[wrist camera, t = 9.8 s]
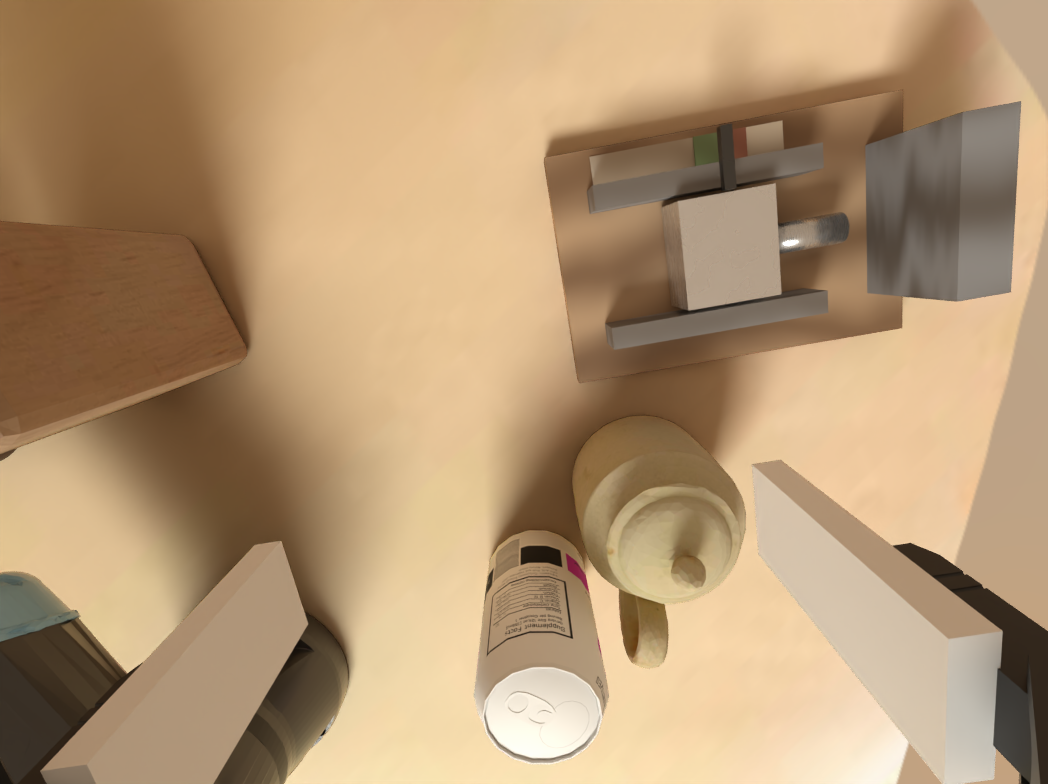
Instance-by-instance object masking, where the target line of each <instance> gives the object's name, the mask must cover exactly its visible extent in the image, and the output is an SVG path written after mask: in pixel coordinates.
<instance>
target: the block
mask: <svg viewBox="0 0 1048 784" xmlns="http://www.w3.org/2000/svg"><path fill="white" fill-rule="evenodd" d="M246 356H247V349H246V345H245V343H244V341H243V340H242V338H241V336H240V334H239V332H238V330H237V328H236V326H235V324H234V322H233V320H232V318H231V316H230V314H229V312H228V311H227V309H226V307H225V305H224V303H223V301H222V299H221V297H220V295H219V293H218V291H217V289H216V287H215V285H214V284H213V282H212V280H211V278H210V276H209V274H208V272H207V270H206V268H205V266H204V264H203V262H202V260H201V258H200V256H199V255H198V253H197V251H196V249H195V247H194V245H193V244H192V243H191V242H190V241H189V240H188V239H187V238H186V237H185V236H183V235H173V234H160V233H147V232H134V231H121V230H108V229H95V228H82V227H69V226H56V225H43V224H30V223H17V222H4V221H0V454H2V453H4V452H7V451H10V450H13V449H15V448H18V447H21V446H24V445H26V444H29V443H32V442H34V441H37V440H40V439H43V438H45V437H48V436H51V435H53V434H56V433H59V432H62V431H64V430H67V429H70V428H72V427H75V426H78V425H81V424H83V423H86V422H89V421H91V420H94V419H97V418H100V417H102V416H105V415H108V414H110V413H113V412H116V411H119V410H121V409H124V408H127V407H129V406H132V405H135V404H138V403H140V402H143V401H146V400H148V399H151V398H153V397H156V396H159V395H161V394H164V393H166V392H169V391H171V390H174V389H176V388H179V387H181V386H184V385H186V384H189V383H191V382H194V381H197V380H199V379H202V378H204V377H207V376H209V375H212V374H214V373H217V372H219V371H222V370H224V369H227V368H229V367H232V366H235V365H237V364H239V363H240V362H241V361H242V360H243V359H244V358H245V357H246Z"/></svg>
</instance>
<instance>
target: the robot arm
mask: <svg viewBox="0 0 1048 784" xmlns="http://www.w3.org/2000/svg"><path fill="white" fill-rule="evenodd" d="M752 472H753V486H754V499H755V513H756V527H757V541H758V554H759V556H760V557H761V558H762V559H763V561H764V562H765V563H766V564H767V566H768V567H769V568H770V569H771V571H772V572H773V573H774V574H775V576H776V577H777V578H778V579H779V581H780V582H781V583H782V584H783V586H784V587H785V588H786V589H787V591H788V592H789V593H790V594H791V596H792V597H793V598H794V599H795V601H796V602H797V603H798V604H799V606H800V607H801V608H802V609H803V611H804V612H805V613H806V614H807V616H808V617H809V618H810V619H811V621H812V622H813V623H814V624H815V626H816V627H817V628H818V629H819V631H820V632H821V633H822V634H823V636H824V637H825V638H826V639H827V641H828V642H829V643H830V644H831V645H832V647H833V648H834V649H835V650H836V652H837V653H838V654H839V655H840V657H841V658H842V659H843V660H844V662H845V663H846V664H847V665H848V667H849V668H850V669H851V670H852V672H853V673H854V674H855V675H856V677H857V678H858V679H859V680H860V682H861V683H862V684H863V685H864V687H865V688H866V689H867V690H868V692H869V693H870V694H871V695H872V697H873V698H874V699H875V700H876V702H877V703H878V704H879V705H880V707H881V708H882V709H883V710H884V712H885V713H886V714H887V715H888V717H889V718H890V719H891V720H892V722H893V723H894V724H895V725H896V727H897V728H898V729H899V730H900V732H901V733H902V734H903V735H904V737H905V738H906V739H907V740H908V742H909V743H910V744H911V745H912V747H913V748H914V749H915V750H916V751H917V753H918V754H919V755H920V756H921V758H922V759H923V760H924V761H925V762H926V764H927V765H928V766H929V768H930V769H931V770H932V771H933V773H934V774H935V775H936V776H937V778H938V779H939V780H940V781H941V783H942V784H963V783H971V782H978V781H986V780H992V779H994V770H995V769H994V768H995V753H996V749H997V750H998V751H999V752H1000V753H1001V754H1002V755H1003V756H1004V757H1005V758H1006V759H1007V760H1008V761H1009V762H1010V763H1011V764H1012V765H1013V766H1014V767H1015V768H1016V770H1017V771H1018V772H1019V773H1020V774H1019V784H1048V631H1047V630H1045V629H1044V628H1042V627H1041V626H1040V625H1038V624H1037V623H1035V622H1034V621H1032V620H1031V619H1030V618H1028V617H1027V616H1025V615H1024V614H1023V613H1021V612H1020V611H1018V610H1017V609H1016V608H1014V607H1013V606H1011V605H1010V604H1008V603H1007V602H1005V601H1004V600H1003V599H1001V598H1000V597H998V596H997V595H996V594H994V593H993V592H991V591H990V590H988V589H987V588H986V589H984V588H983V587H982V585H981V584H980V583H979V582H977V581H975V580H974V579H973V578H972V577H970V576H969V575H964V574H963V571H962V570H960V569H959V568H957V567H956V566H955V565H953V564H952V563H950V562H949V561H948V560H946V559H945V558H943V557H942V556H940V555H938V554H936V553H933V552H931V551H929V550H926V549H924V548H921V547H919V546H916V545H914V544H912V543H908V544H901V545H894V546H892V545H890V544H889V543H888V542H886V541H885V540H884V539H883V538H881V537H880V536H879V535H877V534H876V533H875V532H874V531H872V530H871V529H870V528H868V527H867V526H866V525H864V524H863V523H862V522H861V521H859V520H858V519H857V518H855V517H854V516H853V515H851V514H850V513H849V512H848V511H846V510H845V509H844V508H842V507H841V506H840V505H839V504H837V503H836V502H835V501H833V500H832V499H831V498H829V497H828V496H827V495H826V494H824V493H823V492H822V491H820V490H819V489H818V488H817V487H815V486H814V485H813V484H811V483H810V482H809V481H807V480H806V479H805V478H804V477H802V476H801V475H800V474H798V473H797V472H796V471H794V470H793V469H792V468H791V467H789V466H788V465H787V464H785V463H784V462H783V461H782V460H776V461H770V462H764V463H757V464H752ZM79 617H80V614H79V613H78V612H77V611H76V610H70V609H69V608H68V607H67V606H66V605H65V604H64V603H63V602H62V601H61V600H60V599H59V598H58V597H57V596H56V595H55V594H54V593H53V592H51V591H50V590H49V589H48V588H47V587H46V586H45V585H44V584H43V583H42V582H41V581H40V580H39V579H38V578H36V577H35V576H33V575H30V574H28V573H24V572H15V571H12V572H2V573H0V784H284V783H285V781H286V779H287V778H288V776H289V775H290V774H291V773H292V772H293V771H294V769H295V768H296V767H297V766H298V765H299V763H300V762H301V761H302V759H303V758H304V756H305V755H306V754H307V752H308V751H309V750H310V748H312V747H313V746H314V745H315V744H317V743H318V742H319V741H320V740H321V739H322V738H323V736H324V735H325V734H326V733H327V732H328V730H329V729H330V728H331V726H332V724H333V723H334V721H335V719H336V717H337V715H338V712H339V710H340V708H341V705H342V703H343V700H344V698H345V695H346V692H347V687H348V668H347V663H346V659H345V656H344V654H343V652H342V649H341V648H340V646H339V644H338V642H337V641H336V639H335V638H334V637H333V635H332V634H331V633H330V632H329V631H328V630H327V629H326V628H325V627H324V626H323V625H322V624H321V623H320V622H318V621H317V620H316V619H314V618H313V617H311V616H310V615H308V614H307V613H305V612H304V609H303V606H302V603H301V600H300V597H299V594H298V591H297V588H296V585H295V581H294V578H293V575H292V572H291V569H290V566H289V563H288V560H287V557H286V554H285V551H284V547H283V544H282V541H276V542H269V543H263V544H257V545H254V546H253V547H252V548H251V549H250V551H249V552H248V553H247V554H246V555H245V556H244V557H243V558H242V559H241V560H240V561H239V562H238V563H237V564H236V565H235V566H234V567H233V568H232V570H231V571H230V572H229V573H228V574H227V575H226V576H225V577H224V578H223V579H222V580H221V581H220V582H219V583H218V584H217V585H216V586H215V587H214V588H213V590H212V591H211V592H210V593H209V594H208V595H207V596H206V597H205V598H204V599H203V600H202V601H201V602H200V603H199V604H198V605H197V606H196V607H195V609H194V610H193V611H192V612H191V613H190V614H189V615H188V616H187V617H186V618H185V619H184V620H183V621H182V622H181V623H180V624H179V625H178V626H177V627H176V629H175V630H174V631H173V632H172V633H171V634H170V635H169V636H168V637H167V638H166V639H165V640H164V641H163V642H162V643H161V644H160V645H159V646H158V648H157V649H156V650H155V651H154V652H153V653H152V654H151V655H150V656H149V657H148V658H147V659H146V660H145V661H144V662H143V663H141V664H140V665H138V666H137V667H136V668H134V669H133V670H132V671H130V672H129V673H127V672H126V671H125V670H124V669H123V668H122V667H121V666H120V665H119V663H118V662H117V661H116V660H115V659H114V658H113V657H112V656H111V655H110V654H109V652H108V651H107V650H106V649H105V648H104V647H103V646H102V645H101V644H100V642H99V641H98V640H97V639H96V638H95V637H94V636H93V634H92V633H91V632H90V631H89V630H88V629H87V627H86V626H85V625H84V624H83V623H82V621H81V620H80V619H79Z"/></svg>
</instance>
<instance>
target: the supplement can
mask: <svg viewBox="0 0 1048 784" xmlns="http://www.w3.org/2000/svg"><path fill="white" fill-rule="evenodd" d="M608 698H609V693H608V687H607V680H606V675H605V670H604V665H603V660H602V655H601V650H600V645H599V640H598V635H597V629H596V624H595V619H594V614H593V609H592V604H591V599H590V594H589V589H588V584H587V579H586V574H585V569H584V564H583V559H582V557H581V556H580V554H579V552H578V551H577V549H576V548H575V546H574V545H573V544H572V543H570V542H569V541H568V540H566V539H565V538H564V537H562V536H561V535H558V534H555V533H552V532H549V531H546V530H528V531H525V532H522V533H519V534H516V535H513V536H511V537H509V538H508V539H507V540H506V541H504V542H503V543H502V544H500V545H499V546H498V548H497V549H496V551H495V552H494V554H493V556H492V557H491V559H490V564H489V569H488V576H487V585H486V593H485V602H484V611H483V620H482V628H481V637H480V646H479V655H478V663H477V672H476V681H475V690H474V699H475V703H476V707H477V711H478V715H479V717H480V719H481V720H482V722H483V724H484V727H485V731H486V734H487V736H488V737H489V738H490V740H491V741H492V742H493V744H494V745H495V747H496V748H497V749H499V750H500V751H502V752H503V753H505V754H506V755H508V756H509V757H511V758H512V759H515V760H519V761H522V762H526V763H529V764H554V763H558V762H561V761H565V760H568V759H571V758H573V757H574V756H576V755H577V754H579V753H580V752H582V751H584V750H585V749H587V748H588V746H589V745H590V744H591V742H592V741H593V740H594V738H595V737H596V736H597V734H598V732H599V728H600V725H601V721H602V718H603V716H604V713H605V709H606V705H607V702H608Z"/></svg>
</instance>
